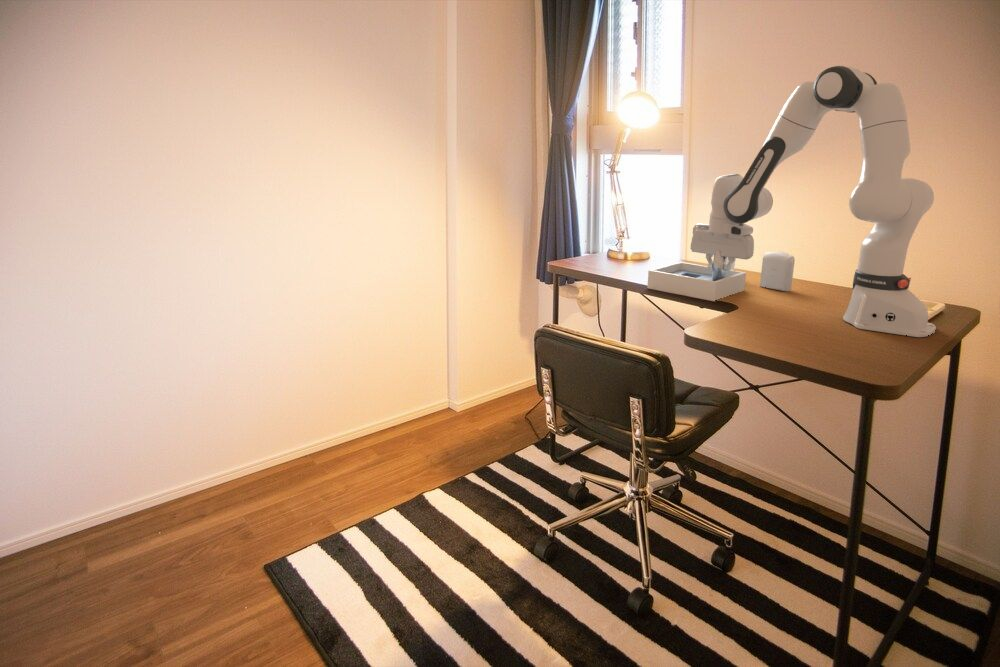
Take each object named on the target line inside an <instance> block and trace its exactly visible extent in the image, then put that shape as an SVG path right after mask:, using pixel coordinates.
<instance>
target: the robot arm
mask: <svg viewBox="0 0 1000 667" xmlns="http://www.w3.org/2000/svg"><path fill="white" fill-rule="evenodd" d="M833 110H834V111H836V112H844V113H845V112H846V113H855V114H856V115H857V118H858V122H859V133H860V143H861V153H862V154H861V155H862V163H861V164H862V165H861V171H860V176H859V180H858V183H857V185H856V186H855V188H854V189H853V190H852V192H851V194H850V196H849V202H848V206H849V210H850V213H851V214H852V215H853V217H855V218H856V219H858V220H860V221H864V222H869V223H874V225H873V227H872V229H871V230H870V232H869V233H868V234H867V236H866V237H865V238H863V240H862V243H861V244H860V251H859V255H858V256H859V257H858V263H857V268H856V270H855V271H854V275H853V281H852V294H851V297H850V300H849V303H848V305H847V309H846V311H845V313H844V315H843V317H842V319H843V321H845V322H847V323H848V324H851V325H853V326H854V327H855V328H857V329H860V330H867V331H873V332H879V333H880V332H881V333H887V334H894V335H900V336H906V335H907V337H915V338H924V337H929V336H932V335H933V334H935V332H936V331H937V326H936V325H935V324H934V323H931V322H929V311H928V307H927V305H926V303H924V302H923V301H922V300H920V299H919V298H918V297H917V296H916V295H915V294H914V293H913V292H912V291H911V290H909V287H910V284H911V283H910V282H911V280H912V277H908V276H906V275H905V274H904V269H905V264H906V259H907V254H908V248H909V245H910V243H911V240H912V238H913V236H914V233H915V231H916V229H917V227H918V224H919V223H920V221H921V219H922V218H923V217H924V215H925V214H926V213H927V212H928V211H929V210H930V209H931V207H932V206H933V204H934V199H935V195H934V191H933V188H932V187H931V186H930V185H929V183H927V182H925V181H922V180H919V179H915V178H913V177H911V178H909V177H907V178H906V177H903V178H902V173H903V167H904V163H905V160H906V159H907V158H908V157H909V155H910V154H911V142H910V140H911V139H910V132H909V124H908V117H907V116H908V115H907V110H906V107H905V102H904V99H903V96H902V92H901V90H900V88H899V87H898V86H897V85H896V84H893V83H890V82H881V83H878V82H877V80H876V78H874V76H872V75H871V73H867V72H864V71H861V70H859V69H858V68H854V67H849V66H844V65H836V66H835V65H834V66H831V67H828V68H826V69H824V70H823V71H821V72H820V73H819V75H818V76H817V77H816V79H815V81H804V82H801V83H800V84H799V85H798V86H797V87H796V88H795V89H794V91H793V92H792V93H791V95H790V96H789V98H788V99H787V100H786V102H785V104H784V105H783V107H782V109H781V110H780V112H779V114H778V116H777V118H776V120H775V121H774V123H773V125H772V128H771V129H770V131H769V134H768V136H767V137H766V140H765V141H764V143H763V145H762V147H761V148H760V150H759V152H758V153H757V154H756V156H755V158H754V160H753V161H752V163H751V164H750V166H749V168H748V170H747V171H746V173H745V175H744V176H742V175H741V174H739V173H734V174H733V173H732V174H725V175H721V176H720V175H719V176H718V177H717V178H715V181H714V183H713V186H712V187H713V188H712V192H711V193H712V194H711V200H710V201H711V202H710V204H711V212H710V214H709V222H708V224H707V223H706V224H705V223H704V224H703V223H697V224H695V225H694V226H693V227H692V236H691V242H690V250H691V252H692V253H697V254H698V253H699V254H705V259H706V261H707V263H708V265H707V266H708V268H712V269H713V260H714V259H713V258H714V255H715V253H716V250H719V251H721V256H725V257H728V260H729V262H728V264H726V265H724V270H725V271H730V269H731V265H732V263H733V262H734V261H735V258H736V259H739V260H751V259H752V257H753V256H754V251H755V240H754V237H753V235H751V234H753V232H754V228H753V227H752V226H750V225H749V224H746V223H748V222H750V221H752V220H756V219H758V218H759V219H760V218H762V217H764V216H765V215H767V214H768V213H769V212H770V211H771V210H772V207H773V204H774V200H773V195H772V193H771V192H770V191H769V190H768V189H767V188H766V187H765V186H766V184H767V183H768V181H769V180H770V178H771V176H772V175H773V173H774V171H775V170H776V169H777V167H778V166H779V165H780V164H782V162H784V161H785V160H786V159H789V158H790V157H791V156H793V155H795V154H796V153H799V152H800V151H801V150H803V149H804V147H805V146H806V145H807V144H808V142H809V141H810V140H811V138H812V137H813V135H814V134H815V132H816V130H817V129H818V126H819V124H820V122H821V121H822V119H823V118H824V117H825V115H826V114H828V113H829V112H831V111H833ZM735 262H736V261H735ZM935 330H936V331H935ZM932 333H933V334H932ZM931 334H932V335H931ZM928 335H929V336H928Z"/></svg>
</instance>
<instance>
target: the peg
mask: <svg viewBox="0 0 1000 667" xmlns="http://www.w3.org/2000/svg"><path fill="white" fill-rule="evenodd" d="M712 260H713V271H712V281H717V280H720V279H723V278H725V270H724V265H726V261H727V257H725V256H721V251H719V250H716V253H715V255H713V259H712Z"/></svg>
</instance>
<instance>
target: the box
mask: <svg viewBox="0 0 1000 667" xmlns="http://www.w3.org/2000/svg"><path fill="white" fill-rule="evenodd" d="M712 271H713V269H712V268H708V265H703V264H702V265H701V264H696V263H689V262H684V261H683V262H682V261H678V262H674V263H671V264H668V265H667V264H666V265H664V266H659V267H656V268H653V269H649V270H648V271H647V273H648V274H647V287H646V288H647V289H650V290H655V291H658V292H659V291H660V292H665V293H670V294H675V295H679V296H680V295H681V296H686V297H691V298H695V299H700V300H706V301H711V302H716V301H715V300H717V299H719V298H722V297H725V296H728V297H730V296H729V295H731V296H733V295H736V294H738V292H739V293H741V292H743V290H744V291H745V286H746V285H745V284H746V279H747V278H746V276H747V272H745V271H739V270H735V269H734V270H730V271H725V278H723V279H720V280H717V281H712ZM735 293H736V294H735ZM732 294H733V295H732ZM725 298H726V297H725ZM722 299H723V298H722ZM717 301H718V300H717Z"/></svg>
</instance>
